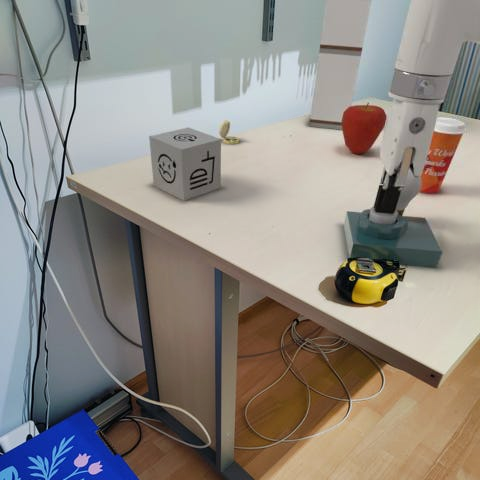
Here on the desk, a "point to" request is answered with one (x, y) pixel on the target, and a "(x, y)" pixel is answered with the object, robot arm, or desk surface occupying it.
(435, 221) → the desk surface
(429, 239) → the teal button base
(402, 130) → the robot arm
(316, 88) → the tall brown-striped box
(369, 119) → the apple
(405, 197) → the light bulb
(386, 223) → the grey push button
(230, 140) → the eyeshadow
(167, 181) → the icon cube
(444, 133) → the paper cup
